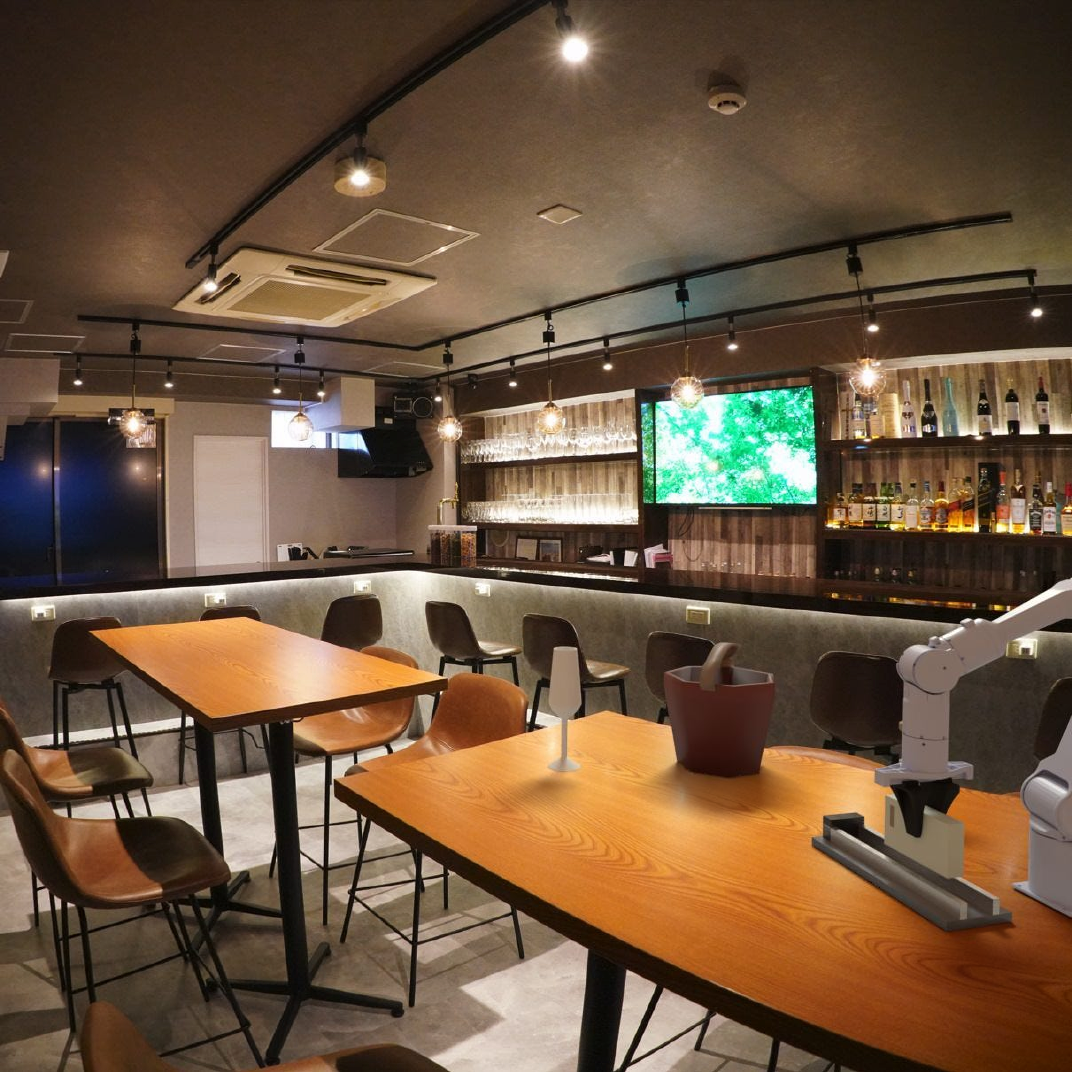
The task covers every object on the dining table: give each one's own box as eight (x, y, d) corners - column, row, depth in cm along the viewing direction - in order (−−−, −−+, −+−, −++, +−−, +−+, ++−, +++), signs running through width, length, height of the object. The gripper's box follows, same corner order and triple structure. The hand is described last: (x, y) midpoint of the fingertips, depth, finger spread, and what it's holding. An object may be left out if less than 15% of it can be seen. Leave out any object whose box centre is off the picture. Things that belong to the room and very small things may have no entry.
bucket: (702, 743, 187) (704, 633, 186) (798, 762, 173) (800, 643, 172) (644, 768, 168) (646, 645, 167) (746, 791, 154) (749, 657, 153)
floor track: (1011, 921, 105) (1012, 887, 105) (946, 931, 102) (947, 896, 102) (866, 838, 132) (866, 811, 132) (811, 844, 129) (812, 816, 129)
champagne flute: (543, 769, 166) (545, 650, 165) (552, 760, 172) (554, 645, 172) (576, 772, 164) (577, 652, 163) (584, 763, 170) (585, 647, 170)
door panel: (963, 876, 108) (964, 823, 107) (947, 878, 107) (948, 824, 107) (899, 841, 119) (900, 793, 119) (884, 843, 118) (885, 794, 118)
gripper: (947, 724, 118) (944, 819, 119) (860, 730, 114) (858, 828, 115) (986, 737, 112) (984, 837, 112) (895, 744, 108) (893, 847, 108)
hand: (922, 834), depth 113 cm, fingers closed on door panel, 2 cm apart
